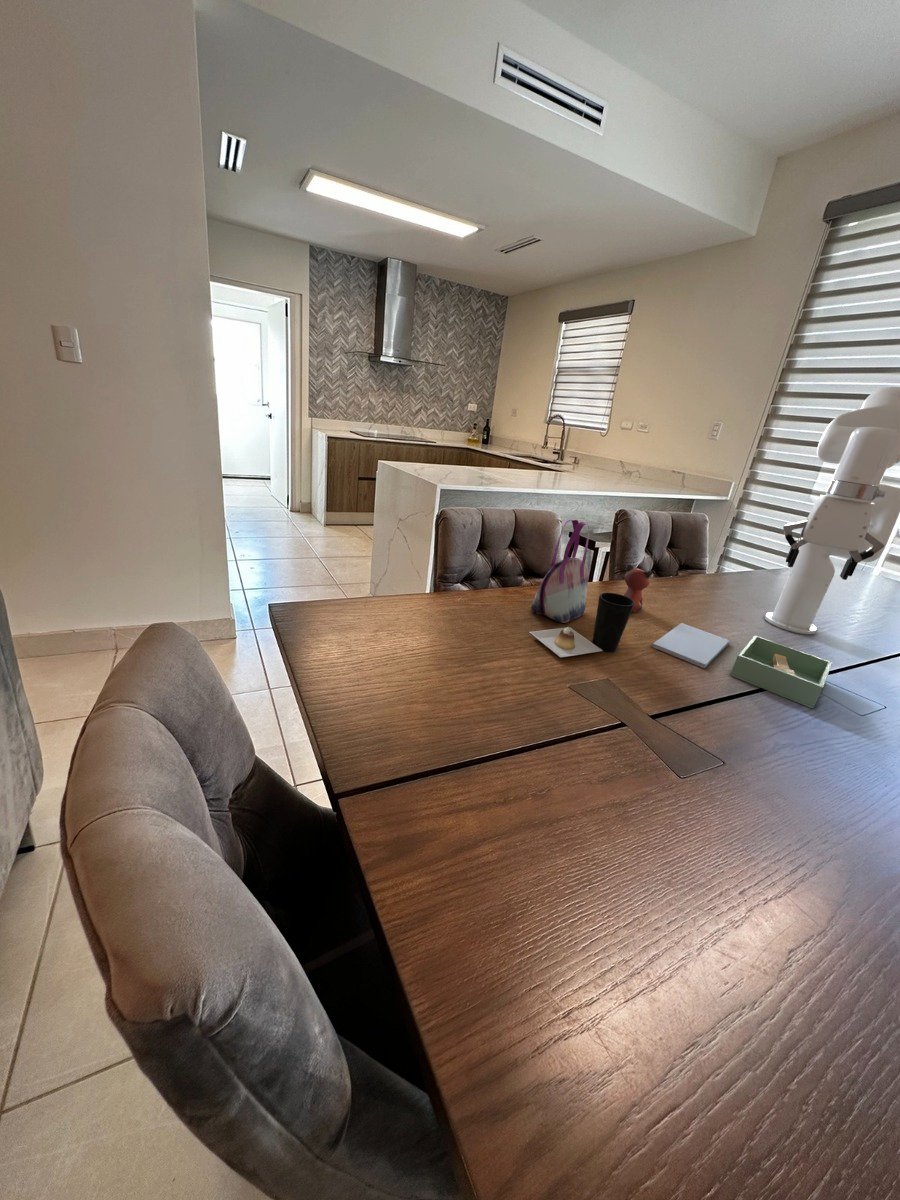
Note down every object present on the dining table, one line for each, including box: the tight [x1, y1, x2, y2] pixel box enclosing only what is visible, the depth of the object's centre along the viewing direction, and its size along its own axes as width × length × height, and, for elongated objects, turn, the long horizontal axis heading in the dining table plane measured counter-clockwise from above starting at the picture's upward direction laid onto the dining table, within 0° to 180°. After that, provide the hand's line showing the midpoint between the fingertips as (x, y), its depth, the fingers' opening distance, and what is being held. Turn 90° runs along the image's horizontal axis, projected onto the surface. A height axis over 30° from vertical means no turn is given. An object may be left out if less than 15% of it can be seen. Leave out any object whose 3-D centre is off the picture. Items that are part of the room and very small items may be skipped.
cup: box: [592, 592, 635, 653], centre depth 108 cm, size 8×8×12 cm
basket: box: [729, 635, 833, 709], centre depth 104 cm, size 16×15×5 cm
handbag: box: [531, 519, 590, 624], centre depth 120 cm, size 21×10×25 cm, turn 135°
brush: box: [770, 654, 796, 676], centre depth 104 cm, size 12×4×3 cm, turn 152°
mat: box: [651, 622, 731, 669], centre depth 116 cm, size 20×12×1 cm, turn 137°
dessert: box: [529, 626, 604, 658], centre depth 107 cm, size 12×12×5 cm
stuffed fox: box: [623, 563, 654, 613], centre depth 131 cm, size 8×11×12 cm
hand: (815, 572), depth 101 cm, fingers open, 9 cm apart
